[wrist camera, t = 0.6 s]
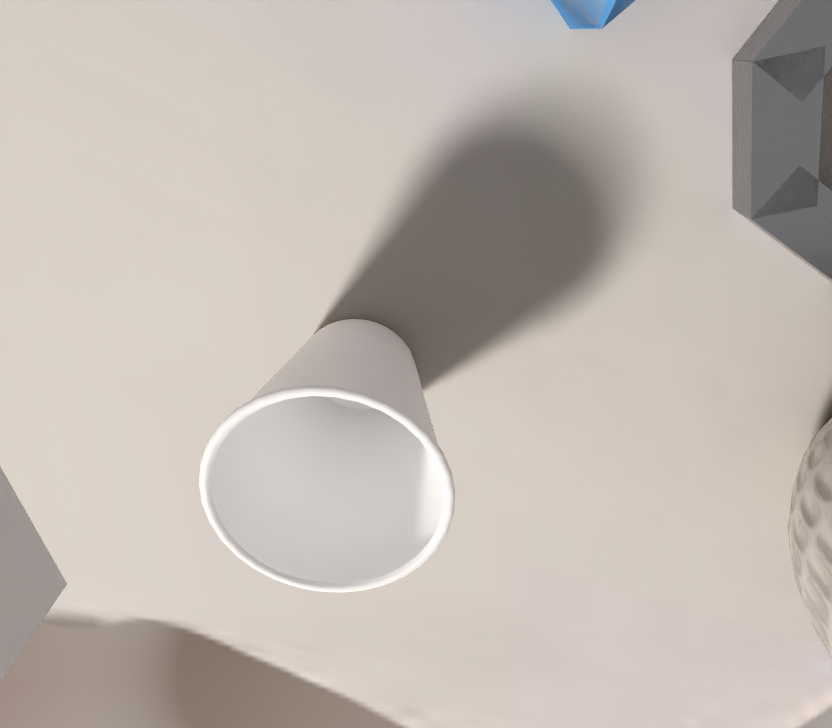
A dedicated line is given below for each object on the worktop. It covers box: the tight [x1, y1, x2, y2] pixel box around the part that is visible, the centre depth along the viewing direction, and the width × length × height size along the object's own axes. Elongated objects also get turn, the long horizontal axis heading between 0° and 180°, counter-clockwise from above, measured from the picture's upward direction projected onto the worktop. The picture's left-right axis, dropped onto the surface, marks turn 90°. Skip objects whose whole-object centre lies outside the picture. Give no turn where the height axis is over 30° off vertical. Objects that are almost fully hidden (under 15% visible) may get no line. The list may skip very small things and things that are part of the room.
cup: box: [199, 319, 455, 593], centre depth 30 cm, size 10×10×11 cm
